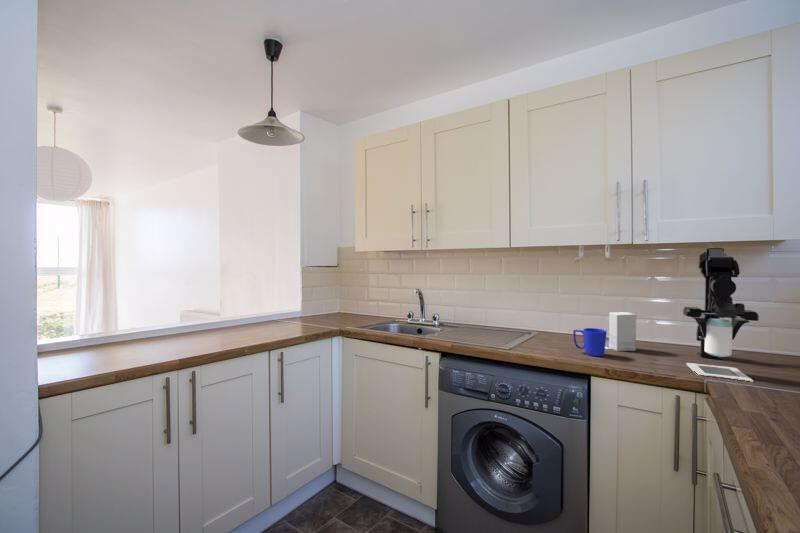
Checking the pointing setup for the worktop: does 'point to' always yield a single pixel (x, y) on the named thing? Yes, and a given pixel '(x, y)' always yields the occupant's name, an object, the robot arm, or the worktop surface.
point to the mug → (592, 341)
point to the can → (718, 337)
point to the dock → (718, 371)
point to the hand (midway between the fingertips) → (718, 338)
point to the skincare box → (622, 331)
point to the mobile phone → (607, 345)
